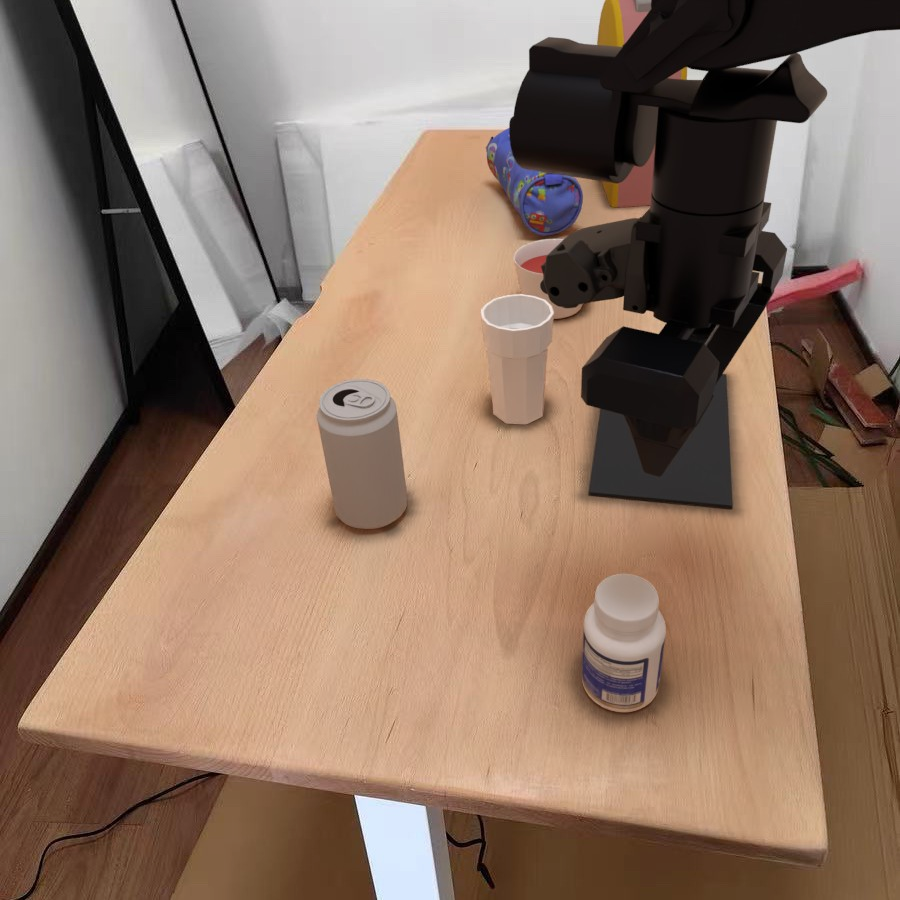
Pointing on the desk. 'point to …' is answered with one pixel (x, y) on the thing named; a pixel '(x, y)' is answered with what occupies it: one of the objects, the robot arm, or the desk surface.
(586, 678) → the pill bottle
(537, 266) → the candle
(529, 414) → the cup
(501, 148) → the pencil case
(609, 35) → the lunch box
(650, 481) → the mat
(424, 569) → the desk surface
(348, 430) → the beverage can
